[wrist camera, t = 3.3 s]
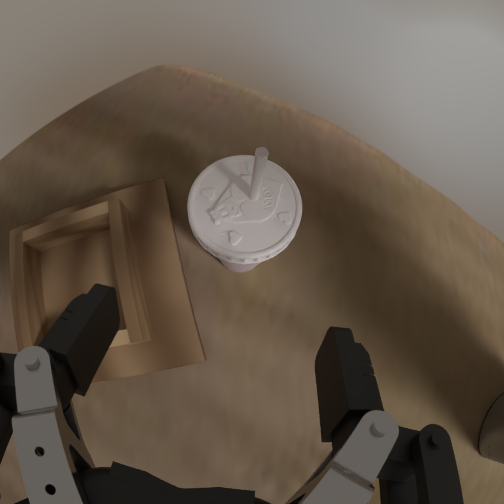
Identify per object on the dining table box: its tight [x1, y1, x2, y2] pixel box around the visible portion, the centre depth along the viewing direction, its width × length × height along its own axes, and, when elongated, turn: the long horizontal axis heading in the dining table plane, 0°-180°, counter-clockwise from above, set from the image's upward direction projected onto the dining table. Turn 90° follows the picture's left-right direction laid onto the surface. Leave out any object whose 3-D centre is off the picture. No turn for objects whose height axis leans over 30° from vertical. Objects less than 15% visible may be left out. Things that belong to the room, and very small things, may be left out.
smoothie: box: [187, 147, 302, 272], centre depth 18 cm, size 6×6×14 cm
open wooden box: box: [9, 178, 206, 382], centre depth 21 cm, size 18×16×4 cm
